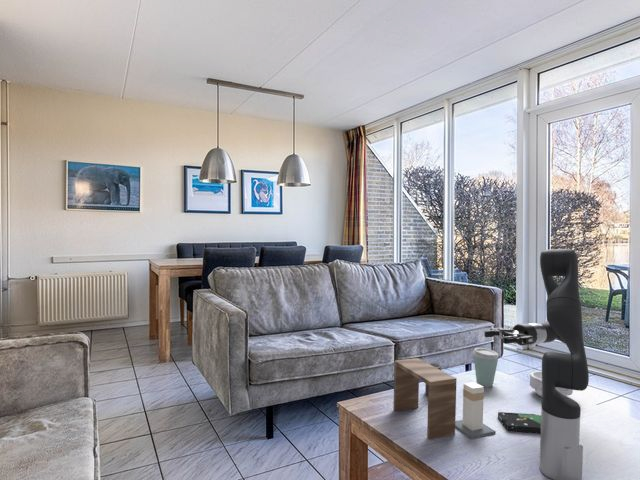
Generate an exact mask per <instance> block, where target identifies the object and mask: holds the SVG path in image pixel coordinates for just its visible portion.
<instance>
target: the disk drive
mask: <svg viewBox="0 0 640 480" xmlns="http://www.w3.org/2000/svg"><path fill="white" fill-rule="evenodd" d="M497 419H498V420H499V422H500V424H501V425H502V426H503V428H504V429H505V430H506V432H507V433H508V432H509V433H520V434H521V433H522V434H536V435H538V434H539V435H541V414H540V415H539V414H535V413H520V412H519V413H517V412H502V411H498V412H497Z"/></svg>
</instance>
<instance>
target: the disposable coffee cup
mask: <svg viewBox="0 0 640 480" xmlns="http://www.w3.org/2000/svg"><path fill="white" fill-rule="evenodd" d="M472 355H473V361H474V362H473V363H474V372H475V379H476V383H477V384H479V385H481V386H483V387H484V388H491V387H493V385H494V381H495V376H496V371H497V366H498V361H499V353H498V352H496V351H495V350H492V349H489V348H485V347H475V348H474V350H473V351H472Z"/></svg>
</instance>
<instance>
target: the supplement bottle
mask: <svg viewBox="0 0 640 480" xmlns="http://www.w3.org/2000/svg"><path fill="white" fill-rule="evenodd" d="M429 364H430V365H432V366H434V367H436V368H438V369H439V370H441V371H442V369H441V368H442V367H441V365H440V364H437V363H429ZM424 386H425V388H424V389H425V391H424V392H425V395H426V396H427V397H428V384H426V383H424Z"/></svg>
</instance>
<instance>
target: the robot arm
mask: <svg viewBox="0 0 640 480" xmlns="http://www.w3.org/2000/svg"><path fill="white" fill-rule="evenodd" d="M539 266H540V272H541V276H542V277H541V278H542V280H543V284H544V287H545V288H544V289H545V291H546V295H547V299H546V309H545V310H546V313H545V314H546V321H545V322H541V323H540V322H538V323H536V322H535V323H534V322H530V323H520V324H517V323H516V324H515V325H514V326H513V327H512V328H504V327H491V328H489V330H485V331H484V335H483V336H484V337H485V338H499V339H501V340H502V343H503V344H505V345H507V344H514V345H516V344H517V345H518V346H532V345H538V344H539V345H540V344H545V343H551V342H554V341H555V340H556V339H557V340H558V341H560V342H561V343H563V344H565V345H566V346H567V349H568V351H569V353H563V352H557V351H556V352H555V351H546V352H544V353H543V356H542V358H541V371H542V397H541V408H540V409H541V412H540V415H541V434H540V439H539V440H540V441H539V445H540V446H539V471H540V472H541V473H542V474H543V475H544V476H546V477H547V478H549V479H551V480H583V458H584V455H583V454H584V446H583V445H582V444H580V440H581V439H580V434H581V433H580V432H581V412H582V411H581V409H582V408H581V405H580V404H579V403H578V402H577V401H576V400H574V399H572V398H570V397H569V396H564V395H563V394H561V393H560V392H558V391H557V390H556V389H555V387H559V388H565V389H571V390H573V391H578V392H579V391H585V390H586V389H587V388H588V386H589V381H590V380H589V379H590V378H589V366H588V361H587V355H586V349H585V348H586V347H585V343H584V342H585V341H584V333H583V316H582V315H583V314H582V304H581V297H580V292H579V291H580V289H579V261H578V255H577V252H576V251H575V250H574V249H571V248H560V249H559V248H558V249H556V248H555V249H544V250H542V251H541V252H540V257H539ZM554 277H564V278H563V280H562V282H561V283H560V284H558V283H557V282H556V280H555V279H554Z"/></svg>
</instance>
